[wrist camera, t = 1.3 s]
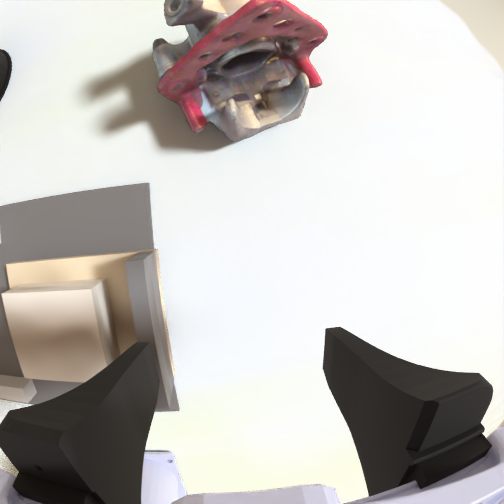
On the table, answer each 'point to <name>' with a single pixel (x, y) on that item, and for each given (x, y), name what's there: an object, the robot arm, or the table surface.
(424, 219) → the table surface
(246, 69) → the brake caliper
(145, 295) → the grey beige angular piece
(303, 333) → the table surface
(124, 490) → the robot arm
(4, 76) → the aerosol can
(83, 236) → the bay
